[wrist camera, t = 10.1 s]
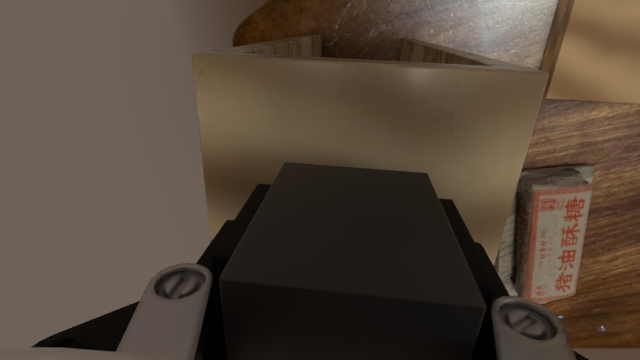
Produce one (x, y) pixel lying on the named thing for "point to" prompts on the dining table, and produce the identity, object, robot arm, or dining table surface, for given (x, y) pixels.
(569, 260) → the packaged product
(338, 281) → the block
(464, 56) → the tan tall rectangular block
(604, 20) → the tan flat square block
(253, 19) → the dining table surface
